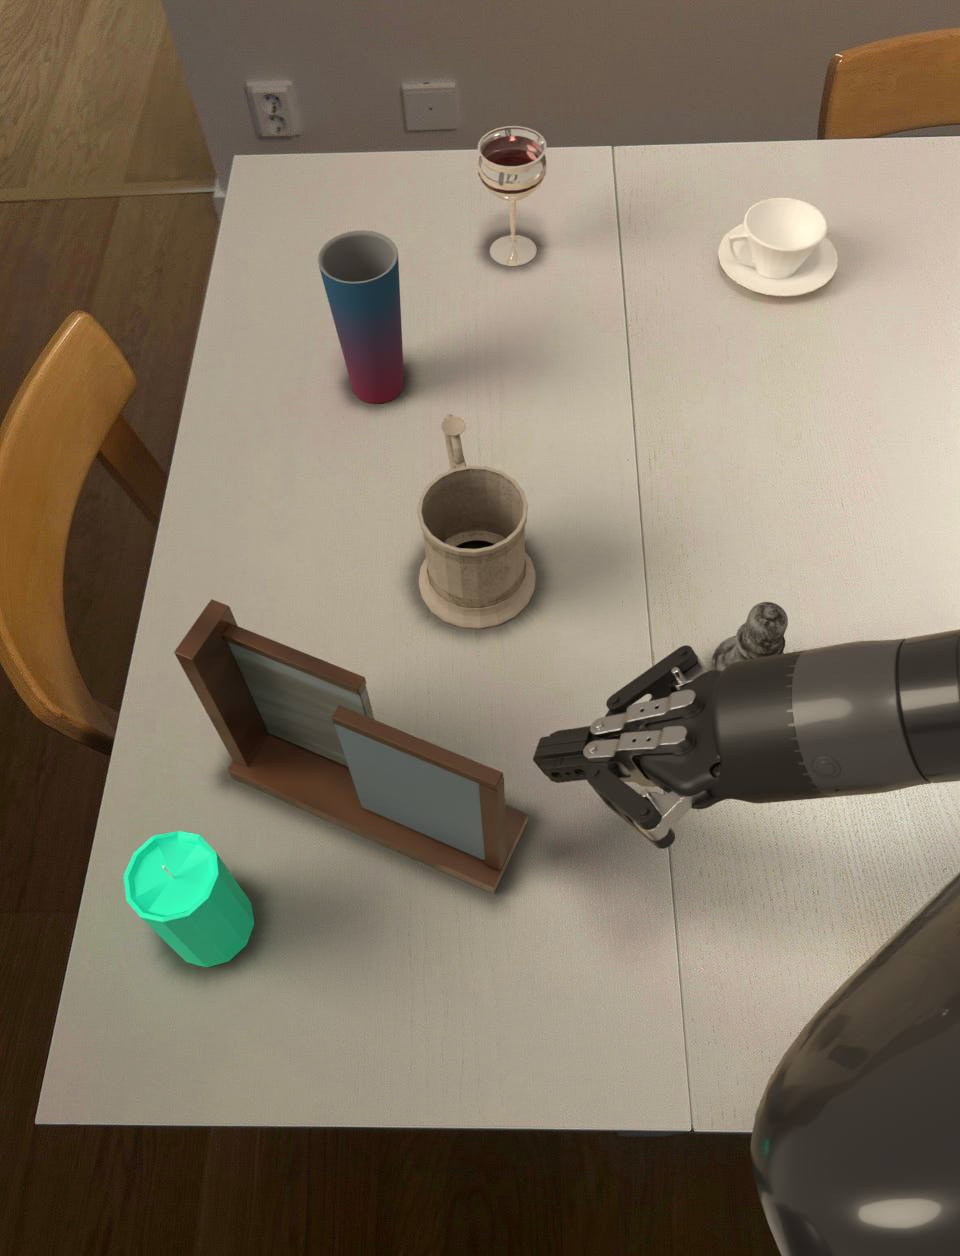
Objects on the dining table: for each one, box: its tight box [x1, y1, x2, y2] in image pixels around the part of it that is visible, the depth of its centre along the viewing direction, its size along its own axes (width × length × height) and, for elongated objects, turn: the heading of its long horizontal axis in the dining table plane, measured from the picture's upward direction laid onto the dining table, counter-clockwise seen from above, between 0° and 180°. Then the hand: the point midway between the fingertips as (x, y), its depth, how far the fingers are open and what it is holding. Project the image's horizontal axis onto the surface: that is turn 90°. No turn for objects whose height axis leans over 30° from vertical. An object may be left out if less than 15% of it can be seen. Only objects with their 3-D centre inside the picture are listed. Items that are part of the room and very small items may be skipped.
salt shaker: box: [711, 601, 789, 671], centre depth 78 cm, size 6×6×12 cm
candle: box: [123, 830, 255, 968], centre depth 70 cm, size 6×6×12 cm
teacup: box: [717, 197, 839, 297], centre depth 107 cm, size 12×12×5 cm
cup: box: [317, 229, 405, 405], centre depth 96 cm, size 7×7×15 cm
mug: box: [416, 413, 537, 630], centre depth 86 cm, size 14×10×12 cm
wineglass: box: [477, 125, 548, 267], centre depth 107 cm, size 7×7×12 cm
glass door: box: [332, 706, 507, 870], centre depth 70 cm, size 1×11×14 cm, turn 65°
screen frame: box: [173, 598, 528, 895], centre depth 72 cm, size 6×22×18 cm, turn 65°
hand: (542, 758), depth 64 cm, fingers closed
